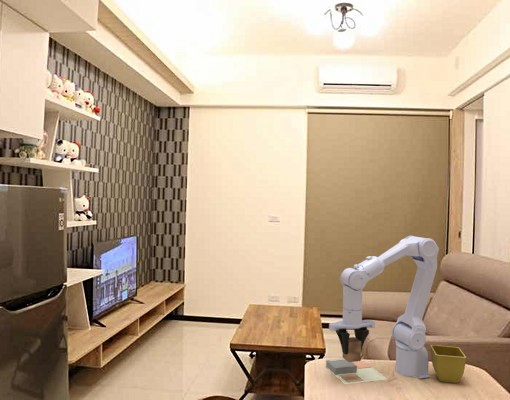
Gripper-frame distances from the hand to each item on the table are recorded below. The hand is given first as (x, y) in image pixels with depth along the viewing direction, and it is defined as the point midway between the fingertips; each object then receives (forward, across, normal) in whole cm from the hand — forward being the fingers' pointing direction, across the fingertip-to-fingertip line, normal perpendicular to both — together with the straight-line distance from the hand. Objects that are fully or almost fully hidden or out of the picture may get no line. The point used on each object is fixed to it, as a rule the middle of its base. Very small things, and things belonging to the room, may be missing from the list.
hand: (351, 352), depth 130 cm
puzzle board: (+9, -3, -3) cm, 10 cm away
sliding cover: (+8, 0, -6) cm, 10 cm away
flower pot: (+9, -30, +6) cm, 32 cm away
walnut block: (+2, 0, 0) cm, 2 cm away
